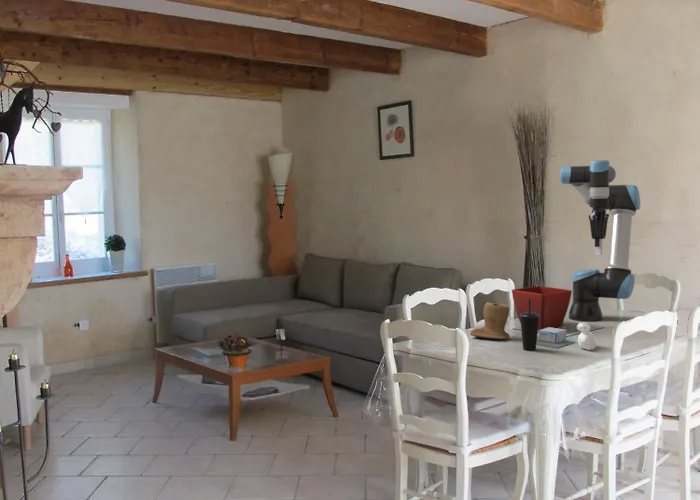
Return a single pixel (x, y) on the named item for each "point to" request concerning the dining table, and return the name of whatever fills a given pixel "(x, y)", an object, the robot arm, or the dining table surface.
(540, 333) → the medicine box
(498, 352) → the dining table surface
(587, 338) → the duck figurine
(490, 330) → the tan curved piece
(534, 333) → the drinking cup
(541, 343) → the mat
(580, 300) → the robot arm
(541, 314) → the plant pot
